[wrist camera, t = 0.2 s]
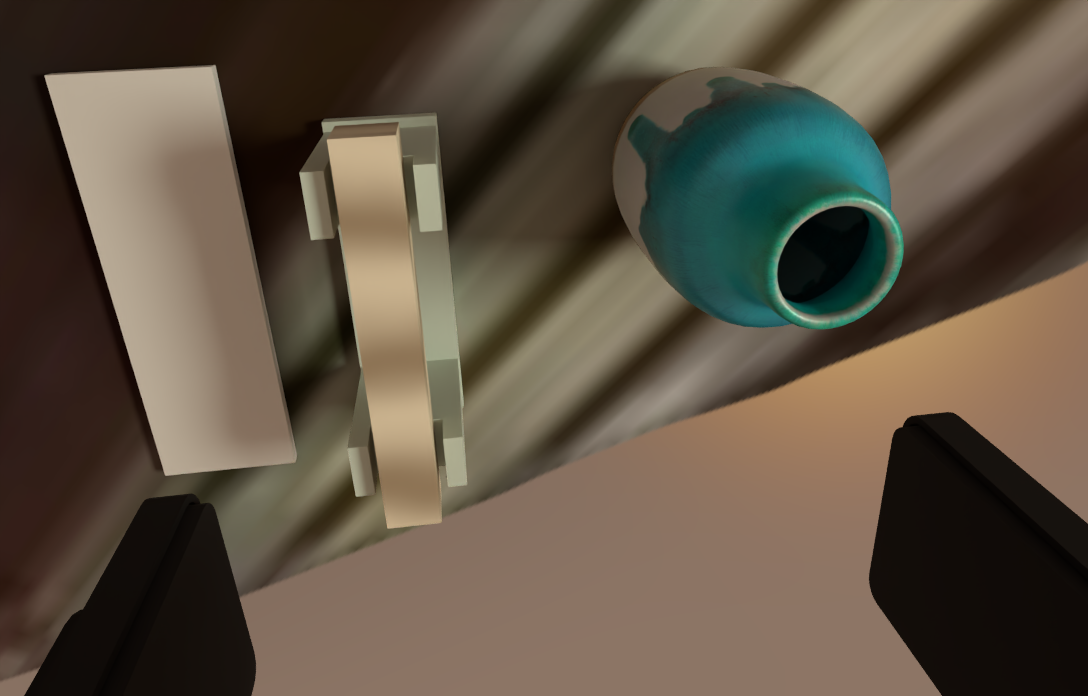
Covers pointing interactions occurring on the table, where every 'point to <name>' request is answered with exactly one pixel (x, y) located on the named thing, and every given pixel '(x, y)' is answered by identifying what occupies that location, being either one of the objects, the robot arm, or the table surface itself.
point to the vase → (758, 199)
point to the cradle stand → (431, 281)
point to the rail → (387, 316)
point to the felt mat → (178, 261)
